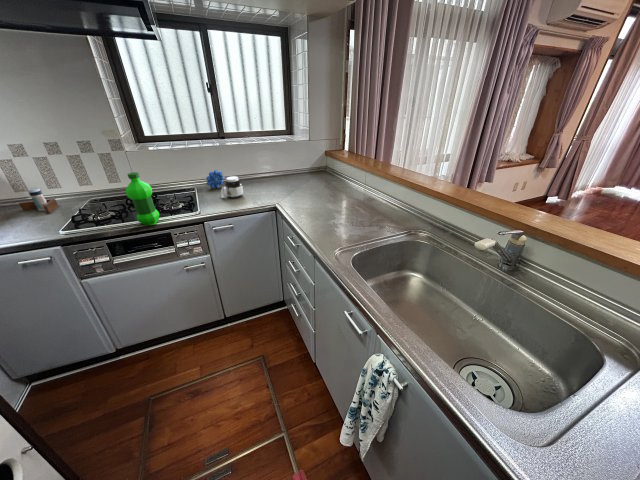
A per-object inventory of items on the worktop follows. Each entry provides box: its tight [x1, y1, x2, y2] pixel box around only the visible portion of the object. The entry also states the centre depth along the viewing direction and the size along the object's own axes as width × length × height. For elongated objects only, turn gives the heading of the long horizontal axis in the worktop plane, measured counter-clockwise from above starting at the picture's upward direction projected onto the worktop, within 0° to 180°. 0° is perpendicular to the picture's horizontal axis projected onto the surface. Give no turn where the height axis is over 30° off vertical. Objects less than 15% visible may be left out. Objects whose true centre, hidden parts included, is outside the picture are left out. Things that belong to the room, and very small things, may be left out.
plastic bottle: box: [125, 171, 160, 226], centre depth 126 cm, size 10×10×25 cm
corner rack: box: [18, 198, 59, 215], centre depth 143 cm, size 15×12×4 cm
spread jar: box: [220, 175, 244, 199], centre depth 161 cm, size 12×11×12 cm
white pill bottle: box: [27, 187, 47, 212], centre depth 144 cm, size 5×5×12 cm
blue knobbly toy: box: [205, 169, 225, 189], centre depth 176 cm, size 12×7×12 cm, turn 116°
